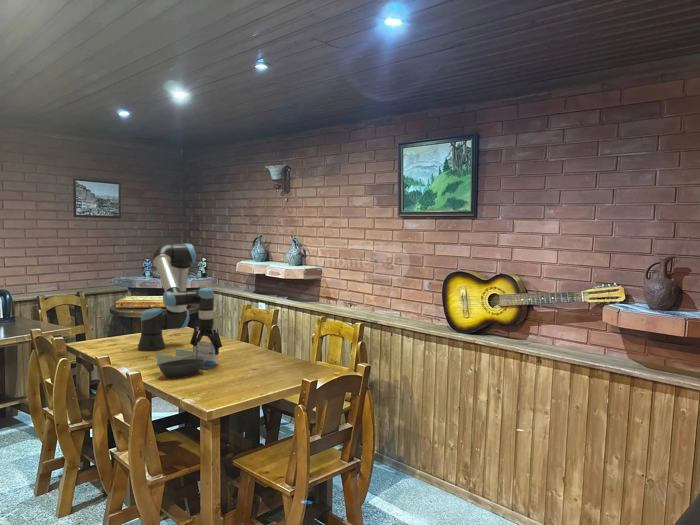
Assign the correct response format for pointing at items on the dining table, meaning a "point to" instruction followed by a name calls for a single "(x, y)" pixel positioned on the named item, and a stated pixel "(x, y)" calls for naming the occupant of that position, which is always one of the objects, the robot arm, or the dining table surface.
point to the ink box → (206, 353)
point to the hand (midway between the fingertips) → (205, 359)
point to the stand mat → (208, 367)
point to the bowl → (181, 368)
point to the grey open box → (180, 355)
